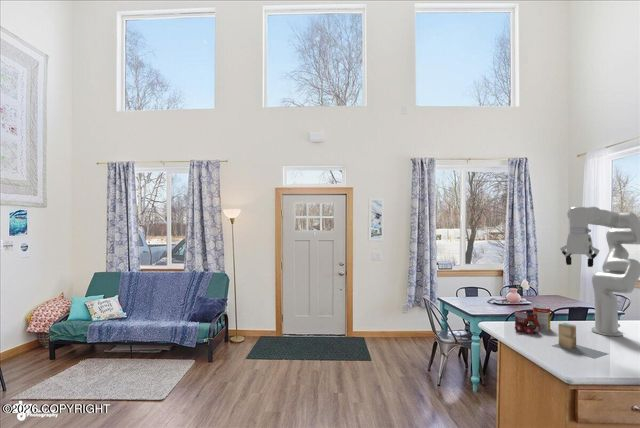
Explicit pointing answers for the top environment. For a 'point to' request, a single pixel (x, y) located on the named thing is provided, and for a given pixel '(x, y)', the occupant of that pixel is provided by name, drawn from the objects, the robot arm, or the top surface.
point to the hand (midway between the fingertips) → (579, 265)
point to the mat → (583, 351)
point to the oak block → (567, 335)
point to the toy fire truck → (526, 322)
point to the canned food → (542, 316)
